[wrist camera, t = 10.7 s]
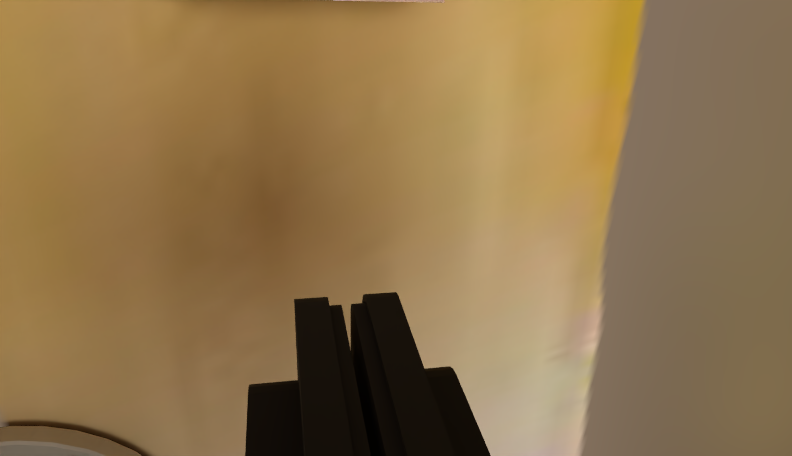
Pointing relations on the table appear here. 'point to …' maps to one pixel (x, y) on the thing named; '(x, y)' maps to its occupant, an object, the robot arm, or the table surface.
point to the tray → (399, 0)
